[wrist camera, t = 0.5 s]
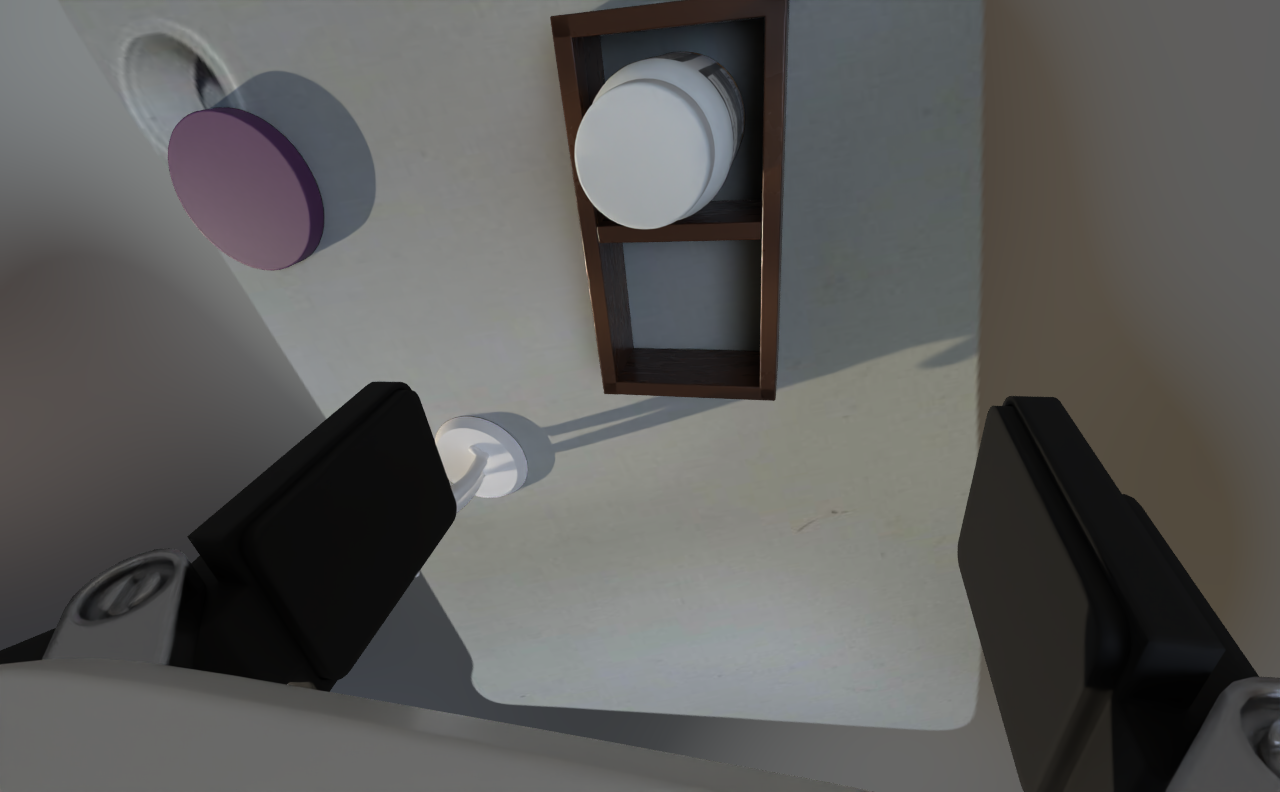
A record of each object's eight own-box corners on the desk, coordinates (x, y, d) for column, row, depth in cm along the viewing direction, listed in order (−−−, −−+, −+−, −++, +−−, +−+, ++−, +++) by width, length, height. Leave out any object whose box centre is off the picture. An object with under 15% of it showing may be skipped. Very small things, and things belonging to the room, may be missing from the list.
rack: (580, 16, 27) (549, 16, 23) (789, -9, 25) (787, -13, 21) (622, 359, 36) (603, 394, 32) (778, 363, 33) (775, 401, 30)
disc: (157, 113, 34) (138, 116, 33) (287, 100, 32) (271, 103, 31) (227, 265, 39) (212, 271, 38) (345, 263, 37) (333, 269, 36)
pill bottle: (615, 163, 30) (545, 217, 22) (643, 33, 26) (573, 38, 18) (724, 198, 29) (694, 267, 21) (766, 71, 26) (750, 94, 18)
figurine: (442, 400, 41) (326, 522, 31) (538, 442, 41) (452, 577, 31) (428, 472, 45) (322, 600, 35) (515, 510, 45) (434, 649, 35)
